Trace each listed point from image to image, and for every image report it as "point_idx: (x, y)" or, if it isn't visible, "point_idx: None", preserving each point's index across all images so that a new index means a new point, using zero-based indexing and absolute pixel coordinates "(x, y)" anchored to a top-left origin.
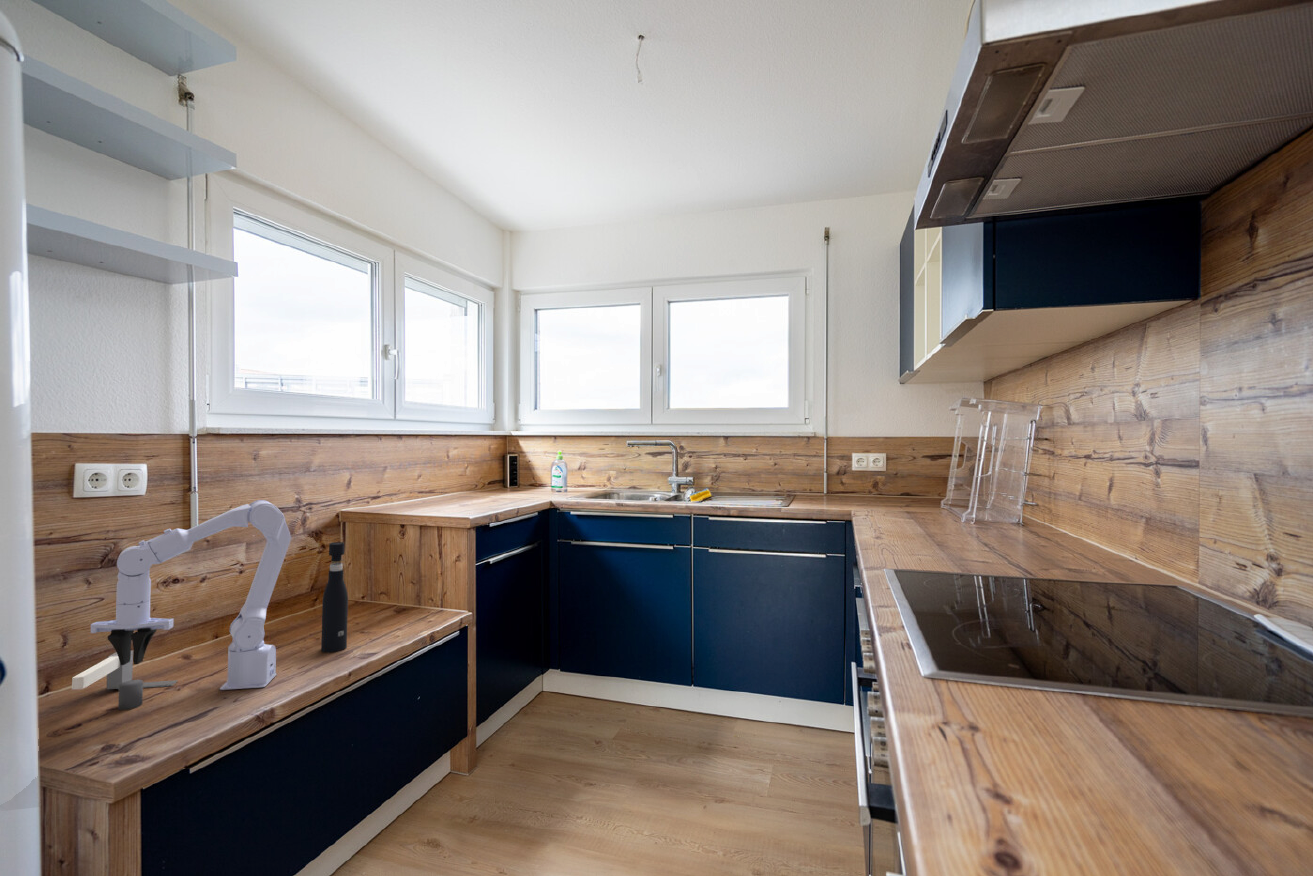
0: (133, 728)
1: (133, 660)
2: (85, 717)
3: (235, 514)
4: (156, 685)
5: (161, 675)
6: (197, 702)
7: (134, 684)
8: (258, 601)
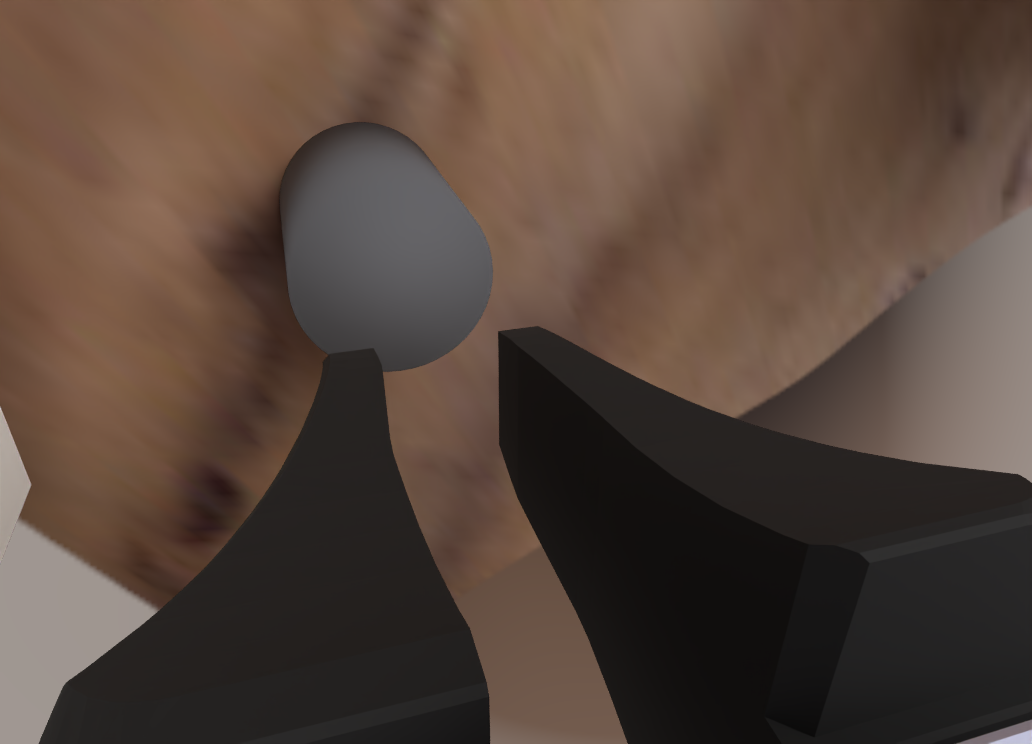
0: None
1: (520, 496)
2: (156, 389)
3: None
4: None
5: None
6: (810, 188)
7: (448, 315)
8: None
